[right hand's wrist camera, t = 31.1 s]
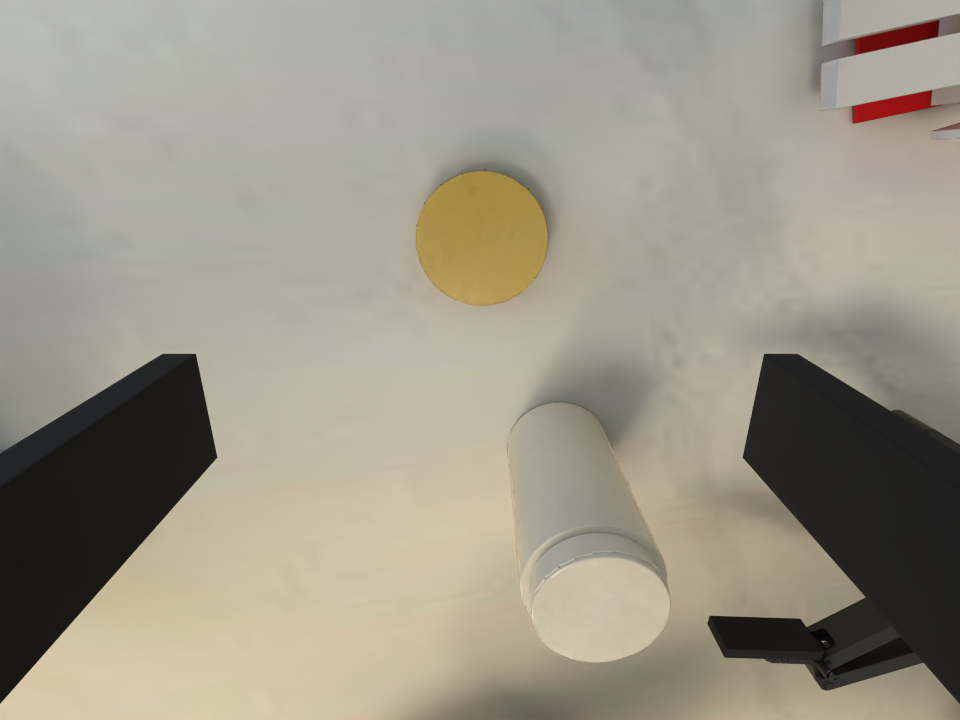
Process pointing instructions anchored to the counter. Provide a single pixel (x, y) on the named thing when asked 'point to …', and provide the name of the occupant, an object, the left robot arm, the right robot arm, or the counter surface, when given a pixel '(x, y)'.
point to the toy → (893, 58)
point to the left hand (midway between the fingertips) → (738, 555)
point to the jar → (582, 539)
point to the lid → (482, 238)
